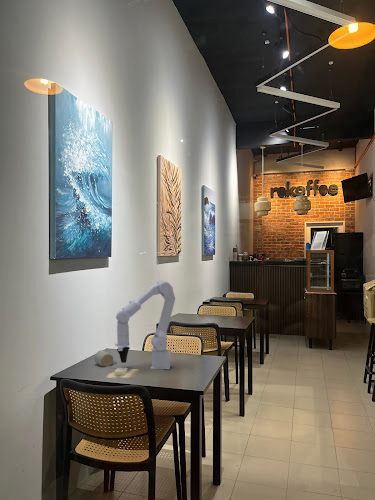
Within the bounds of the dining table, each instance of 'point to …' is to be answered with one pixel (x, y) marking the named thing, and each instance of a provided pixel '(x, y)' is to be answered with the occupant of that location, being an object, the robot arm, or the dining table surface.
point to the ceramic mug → (104, 358)
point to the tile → (120, 371)
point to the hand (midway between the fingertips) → (123, 362)
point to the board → (130, 374)
